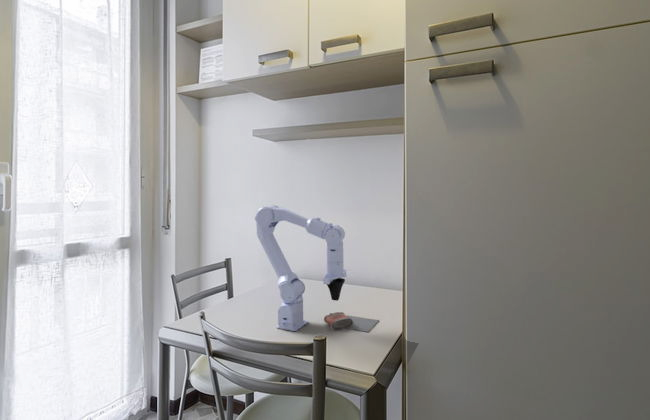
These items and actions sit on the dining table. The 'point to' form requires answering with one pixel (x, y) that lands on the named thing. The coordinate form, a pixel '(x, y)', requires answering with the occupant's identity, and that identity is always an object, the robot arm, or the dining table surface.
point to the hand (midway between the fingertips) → (335, 299)
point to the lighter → (338, 320)
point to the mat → (362, 324)
